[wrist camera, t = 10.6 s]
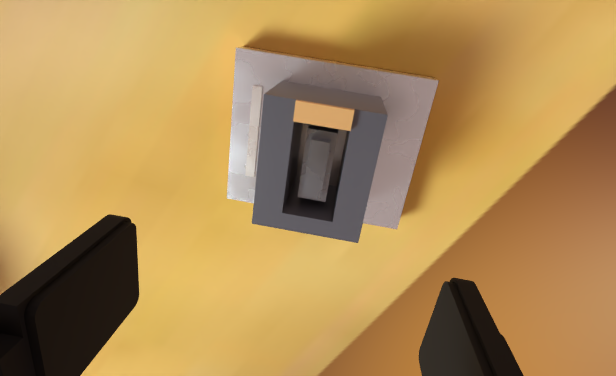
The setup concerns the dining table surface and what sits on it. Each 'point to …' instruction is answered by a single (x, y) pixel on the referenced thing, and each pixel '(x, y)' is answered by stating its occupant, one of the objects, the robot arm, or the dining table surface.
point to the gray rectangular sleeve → (285, 149)
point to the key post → (329, 141)
